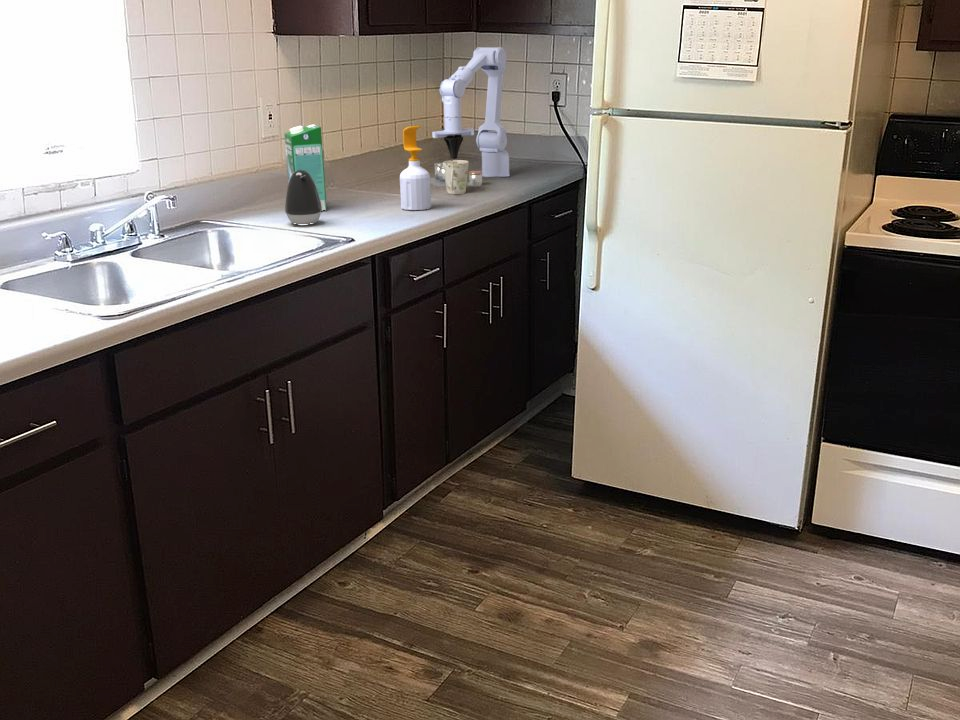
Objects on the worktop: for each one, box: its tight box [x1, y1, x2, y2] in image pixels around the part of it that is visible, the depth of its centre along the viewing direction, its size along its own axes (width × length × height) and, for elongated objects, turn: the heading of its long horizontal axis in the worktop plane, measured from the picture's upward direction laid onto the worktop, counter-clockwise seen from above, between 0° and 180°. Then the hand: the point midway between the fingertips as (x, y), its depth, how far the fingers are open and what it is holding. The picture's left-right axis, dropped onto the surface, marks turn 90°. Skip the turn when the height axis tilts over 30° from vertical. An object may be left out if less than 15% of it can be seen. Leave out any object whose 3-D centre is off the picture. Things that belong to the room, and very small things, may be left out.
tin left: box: [433, 162, 443, 179], centre depth 343 cm, size 5×5×5 cm
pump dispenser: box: [284, 170, 322, 224], centre depth 274 cm, size 10×10×15 cm
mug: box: [442, 159, 470, 195], centre depth 316 cm, size 8×13×10 cm, turn 174°
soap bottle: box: [399, 125, 432, 211], centre depth 291 cm, size 9×9×25 cm
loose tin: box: [468, 170, 483, 187], centre depth 328 cm, size 5×5×5 cm
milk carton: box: [284, 123, 328, 211], centre depth 291 cm, size 9×9×25 cm
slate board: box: [430, 177, 469, 187], centre depth 338 cm, size 12×18×1 cm, turn 18°
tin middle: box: [439, 165, 446, 182], centre depth 338 cm, size 5×5×5 cm
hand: (453, 158), depth 327 cm, fingers closed
